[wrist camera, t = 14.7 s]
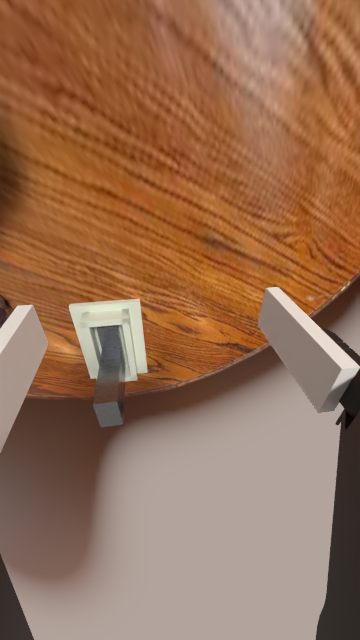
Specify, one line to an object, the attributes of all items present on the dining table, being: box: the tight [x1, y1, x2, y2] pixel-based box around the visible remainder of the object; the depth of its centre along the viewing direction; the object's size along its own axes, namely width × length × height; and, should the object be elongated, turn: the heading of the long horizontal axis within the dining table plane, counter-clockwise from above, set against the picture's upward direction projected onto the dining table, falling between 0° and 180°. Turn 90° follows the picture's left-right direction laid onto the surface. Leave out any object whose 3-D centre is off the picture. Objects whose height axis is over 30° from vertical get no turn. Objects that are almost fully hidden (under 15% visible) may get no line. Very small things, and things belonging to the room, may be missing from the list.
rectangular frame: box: [69, 299, 148, 382], centre depth 47 cm, size 12×18×4 cm, turn 0°
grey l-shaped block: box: [93, 325, 126, 427], centre depth 42 cm, size 4×11×14 cm, turn 0°
